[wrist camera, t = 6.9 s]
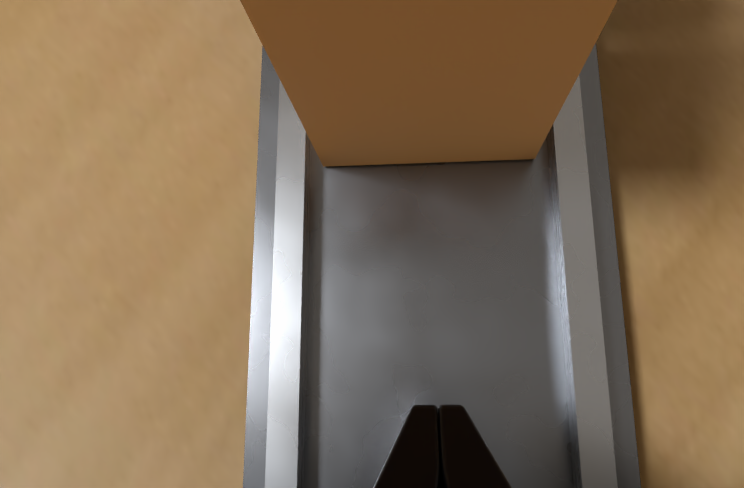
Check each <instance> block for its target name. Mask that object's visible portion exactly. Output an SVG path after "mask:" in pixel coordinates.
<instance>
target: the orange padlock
mask: <svg viewBox="0 0 744 488" xmlns="http://www.w3.org/2000/svg"><path fill="white" fill-rule="evenodd" d="M240 1H241V3H242V5H243V7H244V9H245V11H246V13H247V15H248V17H249V19H250V21H251V23H252V25H253V27H254V29H255V31H256V33H257V35H258V37H259V39H260V41H261V43H262V45H263V47H264V49H265V51H266V53H267V55H268V57H269V59H270V61H271V63H272V65H273V67H274V69H275V71H276V73H277V75H278V77H279V79H280V81H281V83H282V85H283V87H284V89H285V91H286V93H287V95H288V97H289V99H290V101H291V103H292V105H293V107H294V109H295V111H296V113H297V115H298V117H299V119H300V121H301V123H302V125H303V127H304V129H305V131H306V133H307V135H308V137H309V139H310V141H311V143H312V145H313V147H314V149H315V151H316V153H317V155H318V157H319V159H320V161H321V163H322V165H323V167H326V166H354V165H382V164H410V163H438V162H466V161H494V160H522V159H535V158H536V156H537V154H538V152H539V150H540V148H541V146H542V144H543V142H544V140H545V139H546V137H547V135H548V133H549V131H550V129H551V127H552V125H553V123H554V121H555V119H556V118H557V116H558V114H559V112H560V110H561V108H562V106H563V104H564V102H565V100H566V98H567V97H568V95H569V93H570V91H571V89H572V87H573V85H574V83H575V81H576V79H577V77H578V76H579V74H580V72H581V70H582V68H583V66H584V64H585V62H586V60H587V58H588V56H589V55H590V53H591V51H592V49H593V47H594V45H595V43H596V41H597V39H598V37H599V36H600V34H601V32H602V30H603V28H604V26H605V24H606V22H607V20H608V18H609V16H610V15H611V13H612V11H613V9H614V7H615V5H616V3H617V1H618V0H240Z"/></svg>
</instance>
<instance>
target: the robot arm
mask: <svg viewBox="0 0 744 488" xmlns="http://www.w3.org/2000/svg"><path fill="white" fill-rule="evenodd" d="M373 488H512V487H511V485H510V484H509V482H508V480H507V478H506V477H505V475H504V473H503V472H502V470H501V468H500V467H499V465H498V463H497V462H496V460H495V458H494V456H493V455H492V453H491V451H490V450H489V448H488V446H487V445H486V443H485V441H484V440H483V438H482V436H481V434H480V433H479V431H478V429H477V428H476V426H475V424H474V423H473V421H472V419H471V418H470V416H469V414H468V412H467V411H466V409H465V408H464V407H463V406H462V405H459V404H452V405H440V406H439V407H438V409H437V406H435V405H414V406H413V407H412V408H411V409H410V411H409V414H408V416H407V418H406V420H405V422H404V424H403V426H402V428H401V430H400V432H399V435H398V437H397V439H396V441H395V443H394V445H393V447H392V449H391V451H390V454H389V456H388V458H387V460H386V462H385V464H384V466H383V468H382V470H381V472H380V475H379V477H378V479H377V481H376V483H375V485H374V487H373Z"/></svg>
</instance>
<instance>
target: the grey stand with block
mask: <svg viewBox="0 0 744 488" xmlns="http://www.w3.org/2000/svg"><path fill="white" fill-rule="evenodd" d="M452 404H459V405H462V406H463V407H464V408H465V409H466V411H467V412H468V414H469V416H470V418H471V419H472V421H473V423H474V424H475V426H476V428H477V429H478V431H479V433H480V434H481V436H482V438H483V440H484V441H485V443H486V445H487V446H488V448H489V450H490V451H491V453H492V455H493V456H494V458H495V460H496V462H497V463H498V465H499V467H500V468H501V470H502V472H503V473H504V475H505V477H506V478H507V480H508V482H509V484H510V485H511V487H512V488H641V483H640V473H639V463H638V453H637V443H636V434H635V424H634V414H633V404H632V394H631V384H630V374H629V365H628V355H627V345H626V335H625V325H624V315H623V306H622V296H621V286H620V276H619V266H618V256H617V246H616V237H615V227H614V217H613V207H612V197H611V187H610V178H609V168H608V158H607V148H606V138H605V128H604V118H603V109H602V99H601V89H600V79H599V69H598V59H597V50H596V43H595V45H594V47H593V49H592V51H591V53H590V55H589V56H588V58H587V60H586V62H585V64H584V66H583V68H582V70H581V72H580V74H579V76H578V77H577V79H576V81H575V83H574V85H573V87H572V89H571V91H570V93H569V95H568V97H567V98H566V100H565V102H564V104H563V106H562V108H561V110H560V112H559V114H558V116H557V118H556V119H555V121H554V123H553V125H552V127H551V129H550V131H549V133H548V135H547V137H546V139H545V140H544V142H543V144H542V146H541V148H540V150H539V152H538V154H537V156H536V158H535V159H522V160H494V161H466V162H438V163H410V164H382V165H354V166H326V167H323V165H322V163H321V161H320V159H319V157H318V155H317V153H316V151H315V149H314V147H313V145H312V143H311V141H310V139H309V137H308V135H307V133H306V131H305V129H304V127H303V125H302V123H301V121H300V119H299V117H298V115H297V113H296V111H295V109H294V107H293V105H292V103H291V101H290V99H289V97H288V95H287V93H286V91H285V89H284V87H283V85H282V83H281V81H280V79H279V77H278V75H277V73H276V71H275V69H274V67H273V65H272V63H271V61H270V59H269V57H268V55H267V53H266V51H265V49H264V47H263V49H262V71H261V94H260V117H259V139H258V162H257V184H256V207H255V229H254V252H253V274H252V297H251V319H250V342H249V364H248V387H247V409H246V432H245V454H244V477H243V488H373V487H374V485H375V483H376V481H377V479H378V477H379V475H380V472H381V470H382V468H383V466H384V464H385V462H386V460H387V458H388V456H389V454H390V451H391V449H392V447H393V445H394V443H395V441H396V439H397V437H398V435H399V432H400V430H401V428H402V426H403V424H404V422H405V420H406V418H407V416H408V414H409V411H410V409H411V408H412V407H413V406H414V405H435V406H437V409H438V407H439V406H440V405H452Z"/></svg>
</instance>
